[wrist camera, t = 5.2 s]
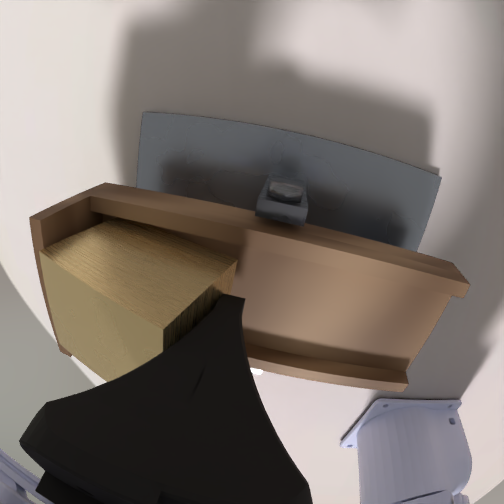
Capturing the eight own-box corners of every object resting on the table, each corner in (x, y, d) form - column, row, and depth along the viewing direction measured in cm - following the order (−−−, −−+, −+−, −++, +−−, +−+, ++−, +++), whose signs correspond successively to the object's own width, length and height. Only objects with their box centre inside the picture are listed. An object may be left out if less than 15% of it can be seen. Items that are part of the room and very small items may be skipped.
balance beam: (439, 248, 11) (502, 329, 6) (391, 346, 14) (412, 438, 9) (123, 175, 13) (29, 217, 7) (124, 282, 15) (60, 351, 10)
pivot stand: (439, 175, 12) (491, 203, 8) (363, 356, 17) (373, 414, 13) (145, 112, 13) (86, 114, 9) (139, 306, 18) (104, 354, 14)
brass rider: (237, 259, 9) (163, 329, 6) (219, 346, 11) (163, 418, 8) (122, 214, 11) (38, 251, 7) (123, 297, 12) (59, 343, 9)
